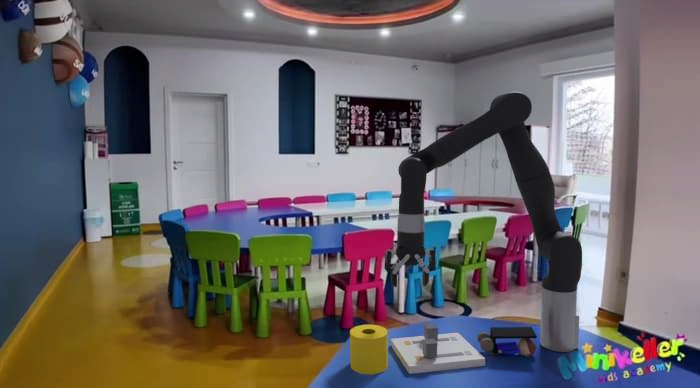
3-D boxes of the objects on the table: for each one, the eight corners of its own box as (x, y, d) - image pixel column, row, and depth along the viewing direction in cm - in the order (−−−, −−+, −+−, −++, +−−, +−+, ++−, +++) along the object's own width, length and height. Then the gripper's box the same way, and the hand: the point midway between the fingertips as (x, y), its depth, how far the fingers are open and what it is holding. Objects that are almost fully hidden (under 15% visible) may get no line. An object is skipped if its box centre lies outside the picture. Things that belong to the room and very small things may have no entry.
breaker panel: (457, 339, 144) (457, 332, 143) (485, 365, 126) (485, 358, 126) (390, 345, 140) (390, 338, 140) (409, 373, 122) (409, 366, 122)
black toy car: (482, 364, 130) (539, 360, 128) (479, 337, 130) (537, 333, 128) (478, 353, 137) (533, 349, 135) (476, 328, 136) (530, 323, 134)
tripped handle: (434, 336, 140) (434, 323, 139) (438, 340, 136) (438, 327, 136) (423, 337, 139) (423, 324, 139) (427, 341, 136) (427, 328, 135)
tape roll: (391, 359, 131) (391, 326, 130) (382, 376, 121) (382, 340, 120) (356, 355, 134) (356, 323, 133) (345, 371, 124) (345, 336, 123)
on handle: (433, 352, 129) (433, 338, 129) (437, 357, 126) (437, 343, 126) (422, 353, 128) (422, 339, 128) (426, 358, 125) (426, 344, 125)
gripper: (431, 226, 137) (430, 281, 139) (383, 227, 135) (382, 282, 137) (439, 231, 130) (438, 289, 131) (388, 231, 128) (387, 290, 129)
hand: (409, 285), depth 134 cm, fingers open, 8 cm apart
